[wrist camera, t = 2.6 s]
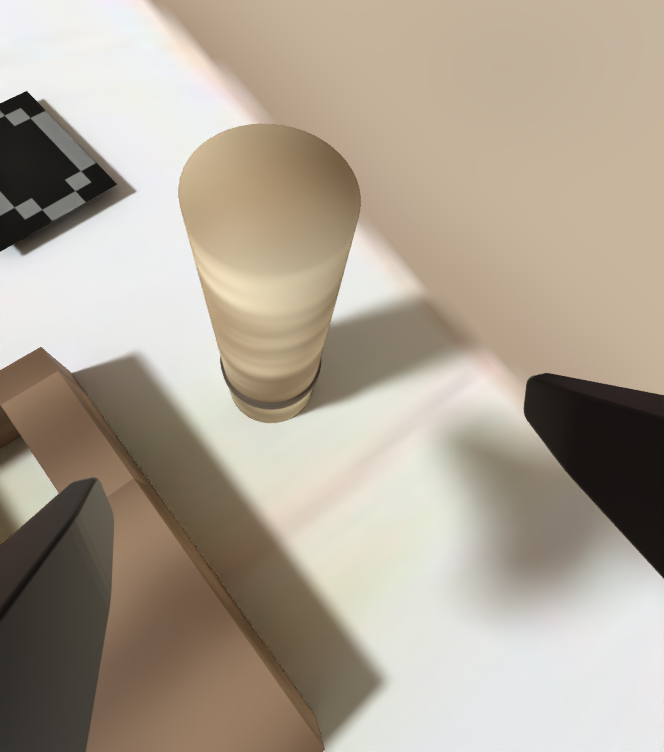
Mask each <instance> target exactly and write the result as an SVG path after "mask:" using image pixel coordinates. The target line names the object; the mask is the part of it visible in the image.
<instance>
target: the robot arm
mask: <svg viewBox="0 0 664 752" xmlns="http://www.w3.org/2000/svg"><path fill="white" fill-rule="evenodd" d="M524 414H525V417H526V419H527V421H528V422H529V423H530V425H531V426H532V427H533V429H534V430H535V431H536V433H537V434H538V435H539V437H540V438H541V439H542V441H543V442H544V443H545V445H546V446H547V448H548V449H549V450H550V452H551V453H552V454H553V456H554V457H555V458H556V460H557V461H558V462H559V463H560V465H561V466H562V467H563V469H564V470H565V471H566V472H567V473H568V474H569V476H570V477H571V478H572V479H573V480H574V481H575V482H576V483H577V485H578V486H579V487H580V488H581V489H582V490H583V491H584V492H585V493H586V494H587V495H588V497H589V498H590V499H591V500H592V501H593V502H594V503H595V504H596V505H597V506H598V507H599V509H600V510H601V511H602V512H603V513H604V514H605V515H606V516H607V517H608V518H609V519H610V521H611V522H612V523H613V524H614V525H615V526H616V527H617V528H618V529H619V530H620V531H621V533H622V534H623V535H624V536H625V537H626V538H627V539H628V540H629V541H630V542H631V543H632V545H633V546H634V547H635V548H636V549H637V550H638V551H639V552H640V553H641V554H642V556H643V557H644V558H645V559H646V560H647V561H648V562H649V563H650V564H651V565H652V566H653V568H654V569H655V570H656V571H657V572H658V573H659V574H660V575H661V576H662V577H663V578H664V395H659V394H654V393H648V392H644V391H639V390H633V389H628V388H623V387H617V386H613V385H607V384H602V383H597V382H592V381H586V380H581V379H576V378H571V377H565V376H561V375H555V374H550V373H544V374H539V375H536V376H532V377H530V378H529V379H528V381H527V384H526V392H525V401H524ZM113 542H114V515H113V511H112V508H111V506H110V503H109V501H108V499H107V496H106V494H105V491H104V489H103V486H102V484H101V482H100V480H99V479H98V478H96V477H90V478H86V479H81V480H77V481H74V482H72V483H70V484H69V485H68V486H67V487H66V488H65V489H64V490H62V491H61V492H60V493H59V494H58V495H57V496H56V497H55V498H53V499H52V500H51V501H50V502H49V503H48V504H47V505H46V506H44V507H43V508H42V509H41V510H40V511H39V512H38V513H37V514H35V515H34V516H33V517H32V518H31V519H30V520H29V521H28V522H26V523H25V524H24V525H23V526H22V527H21V528H20V529H19V530H17V531H16V532H15V533H14V534H13V535H12V536H11V537H10V538H8V539H7V540H6V541H5V542H4V543H3V544H2V545H1V546H0V752H86V748H87V742H88V736H89V730H90V724H91V718H92V712H93V706H94V700H95V694H96V688H97V682H98V676H99V670H100V664H101V658H102V652H103V646H104V640H105V634H106V628H107V622H108V616H109V609H110V602H111V590H112V567H113Z"/></svg>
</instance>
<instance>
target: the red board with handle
mask: <svg viewBox="0 0 664 752" xmlns="http://www.w3.org/2000/svg"><path fill="white" fill-rule="evenodd" d="M115 185H117V184H116V183H115V182H114V181H113V180H112V179H111V178H110V177H109V175H108V174H107V173H106V172H105V171H104V170H103V169H102V168H101V167H100V166H99V165H98V164H97V163H96V162H95V161H94V160H93V159H92V158H91V157H90V156H89V155H88V154H87V153H86V152H85V151H84V150H83V149H82V148H81V147H80V146H79V144H78V143H77V142H76V141H75V140H74V139H73V138H72V137H71V136H70V135H69V134H68V133H67V132H66V131H65V130H64V129H63V128H62V127H61V126H60V125H59V124H58V123H57V122H56V121H55V120H54V119H53V118H52V117H51V116H50V114H49V113H48V112H47V111H46V110H45V109H44V108H43V107H42V106H41V105H40V104H39V103H38V102H37V101H36V100H35V99H34V98H33V97H32V96H31V95H30V94H29V93H28V92H27V91H26V92H24V93H22V94H19V95H17V96H15V97H13V98H11V99H9V100H7V101H4V102H2V103H0V252H1V251H2V250H4V249H6V248H8V247H9V246H11V245H13V244H15V243H16V242H18V241H20V240H22V239H23V238H25V237H27V236H29V235H30V234H32V233H34V232H35V231H37V230H39V229H41V228H42V227H44V226H46V225H48V224H49V223H51V222H53V221H55V220H56V219H58V218H60V217H62V216H63V215H65V214H67V213H68V212H70V211H72V210H74V209H75V208H77V207H79V206H81V205H82V204H84V203H86V202H88V201H89V200H91V199H93V198H95V197H96V196H98V195H100V194H101V193H103V192H105V191H107V190H108V189H110V188H112V187H114V186H115Z"/></svg>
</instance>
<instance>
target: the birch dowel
mask: <svg viewBox="0 0 664 752" xmlns="http://www.w3.org/2000/svg"><path fill="white" fill-rule="evenodd" d="M178 197H179V203H180V208H181V212H182V216H183V219H184V223H185V227H186V230H187V234H188V238H189V241H190V245H191V249H192V252H193V256H194V260H195V264H196V267H197V271H198V275H199V278H200V282H201V286H202V289H203V293H204V297H205V300H206V304H207V308H208V312H209V315H210V319H211V323H212V326H213V330H214V334H215V337H216V341H217V345H218V348H219V352H220V363H221V369H222V373H223V376H224V379H225V381H226V383H227V385H228V387H229V389H230V393H231V396H232V399H233V401H234V403H235V404H236V406H237V407H238V408H239V409H240V411H241V412H243V413H244V414H245V415H246V416H248V417H250V418H252V419H254V420H256V421H259V422H264V423H278V422H283V421H285V420H288V419H290V418H292V417H294V416H295V415H297V414H298V413H299V412H300V411H301V410H302V409H303V408H304V407H305V406H306V404H307V403H308V400H309V398H310V396H311V392H312V389H313V387H314V385H315V383H316V381H317V378H318V375H319V372H320V367H321V355H322V352H323V348H324V344H325V340H326V337H327V333H328V329H329V326H330V322H331V318H332V314H333V311H334V307H335V303H336V300H337V296H338V292H339V288H340V285H341V281H342V277H343V274H344V270H345V266H346V262H347V259H348V255H349V251H350V248H351V244H352V240H353V236H354V233H355V229H356V225H357V222H358V218H359V213H360V207H361V196H360V190H359V186H358V182H357V179H356V177H355V175H354V173H353V171H352V169H351V168H350V166H349V165H348V163H347V162H346V160H345V159H344V158H343V157H342V156H341V155H340V154H339V153H338V152H337V151H336V150H335V149H334V148H333V147H331V146H330V145H329V144H327V143H326V142H324V141H323V140H321V139H319V138H318V137H316V136H314V135H312V134H310V133H307V132H305V131H302V130H299V129H296V128H293V127H288V126H284V125H276V124H251V125H245V126H239V127H236V128H232V129H229V130H226V131H224V132H221V133H219V134H217V135H215V136H214V137H212V138H210V139H209V140H207V141H206V142H204V143H203V144H202V145H201V146H200V147H199V148H198V149H197V150H196V151H194V153H193V154H192V155H191V157H190V158H189V159H188V161H187V163H186V164H185V166H184V168H183V171H182V174H181V177H180V181H179V188H178Z"/></svg>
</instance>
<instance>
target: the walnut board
mask: <svg viewBox="0 0 664 752" xmlns="http://www.w3.org/2000/svg"><path fill="white" fill-rule="evenodd" d="M20 435H21V437H22V438H23V440H24V441H25V443H26V444H27V446H28V447H29V449H30V450H31V452H32V453H33V455H34V456H35V458H36V459H37V461H38V462H39V464H40V465H41V467H42V468H43V470H44V471H45V473H46V474H47V476H48V477H49V479H50V480H51V482H52V483H53V485H54V486H55V488H56V489H57V491H58V492H59V493H60V492H61V491H62V490H64V489H65V488H66V487H67V486H68V485H69V484H70V483H72V482H74V481H77V480H81V479H86V478H90V477H96V478H98V479H99V480H100V482H101V484H102V486H103V489H104V491H105V494H106V496H107V499H108V501H109V503H110V506H111V508H112V511H113V515H114V542H113V567H112V590H111V602H110V609H109V616H108V622H107V628H106V634H105V640H104V646H103V652H102V658H101V664H100V670H99V676H98V682H97V688H96V694H95V700H94V706H93V712H92V718H91V724H90V730H89V736H88V742H87V748H86V752H323V751H324V750H325V749H324V745H323V741H322V738H321V734H320V730H319V726H318V722H317V718H316V716H315V715H314V713H313V712H312V710H311V709H310V708H309V706H308V705H307V703H306V702H305V701H304V699H303V698H302V696H301V695H300V694H299V692H298V691H297V689H296V688H295V687H294V685H293V684H292V682H291V681H290V680H289V678H288V677H287V675H286V674H285V673H284V671H283V670H282V668H281V667H280V665H279V664H278V663H277V661H276V660H275V658H274V657H273V656H272V654H271V653H270V651H269V650H268V649H267V647H266V646H265V644H264V643H263V642H262V640H261V639H260V637H259V636H258V635H257V633H256V632H255V630H254V629H253V628H252V626H251V625H250V623H249V622H248V621H247V619H246V618H245V616H244V615H243V613H242V612H241V611H240V609H239V608H238V606H237V605H236V604H235V602H234V601H233V599H232V598H231V597H230V595H229V594H228V592H227V591H226V590H225V588H224V587H223V585H222V584H221V583H220V581H219V580H218V578H217V577H216V576H215V574H214V573H213V571H212V570H211V568H210V567H209V566H208V564H207V563H206V561H205V560H204V559H203V557H202V556H201V554H200V553H199V552H198V550H197V549H196V547H195V546H194V545H193V543H192V542H191V540H190V539H189V538H188V536H187V535H186V533H185V532H184V531H183V529H182V528H181V526H180V525H179V524H178V522H177V521H176V519H175V518H174V516H173V515H172V514H171V512H170V511H169V509H168V508H167V507H166V505H165V504H164V502H163V501H162V500H161V498H160V497H159V495H158V494H157V493H156V491H155V490H154V488H153V487H152V486H151V484H150V483H149V481H148V480H147V479H146V477H145V476H144V474H143V473H142V471H141V470H140V469H139V467H138V466H137V464H136V463H135V462H134V460H133V459H132V457H131V456H130V455H129V453H128V452H127V450H126V449H125V448H124V446H123V445H122V443H121V442H120V441H119V439H118V438H117V436H116V435H115V434H114V432H113V431H112V429H111V428H110V427H109V425H108V424H107V422H106V421H105V419H104V418H103V417H102V415H101V414H100V412H99V411H98V410H97V408H96V407H95V405H94V404H93V403H92V401H91V400H90V398H89V397H88V396H87V394H86V393H85V391H84V390H83V389H82V387H81V386H80V384H79V383H78V382H77V380H76V379H75V377H74V376H73V374H72V373H71V372H70V371H69V370H67V369H66V368H65V367H64V366H63V365H62V364H60V363H59V362H58V361H57V360H56V359H55V358H53V357H52V356H51V355H50V354H49V353H47V352H46V351H45V350H44V349H43V348H42V347H40V348H38V349H36V350H35V351H33V352H31V353H29V354H28V355H26V356H24V357H22V358H21V359H19V360H17V361H15V362H14V363H12V364H10V365H9V366H7V367H5V368H3V369H2V370H0V448H1V447H3V446H4V445H6V444H7V443H9V442H11V441H12V440H14V439H15V438H17V437H19V436H20Z"/></svg>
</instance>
